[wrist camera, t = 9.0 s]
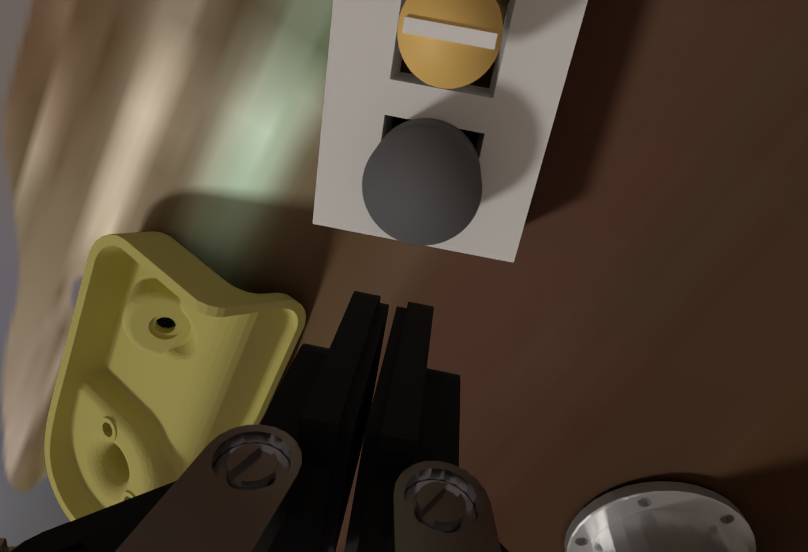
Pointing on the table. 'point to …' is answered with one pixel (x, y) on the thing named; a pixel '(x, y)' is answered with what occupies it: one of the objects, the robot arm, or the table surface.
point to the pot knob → (449, 39)
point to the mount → (444, 114)
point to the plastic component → (157, 369)
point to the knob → (423, 182)
